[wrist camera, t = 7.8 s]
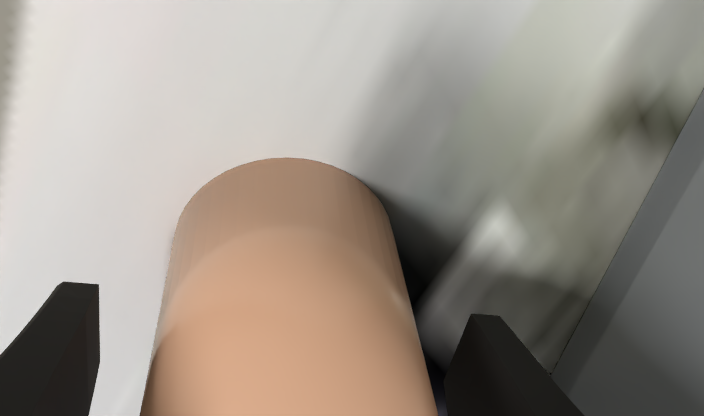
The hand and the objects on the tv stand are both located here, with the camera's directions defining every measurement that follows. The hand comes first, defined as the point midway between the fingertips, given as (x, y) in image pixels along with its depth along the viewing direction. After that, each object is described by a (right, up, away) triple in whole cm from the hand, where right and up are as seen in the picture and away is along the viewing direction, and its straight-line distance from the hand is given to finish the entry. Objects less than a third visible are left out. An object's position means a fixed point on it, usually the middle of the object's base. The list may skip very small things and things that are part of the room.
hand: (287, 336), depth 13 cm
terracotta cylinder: (0, +1, +2) cm, 3 cm away
